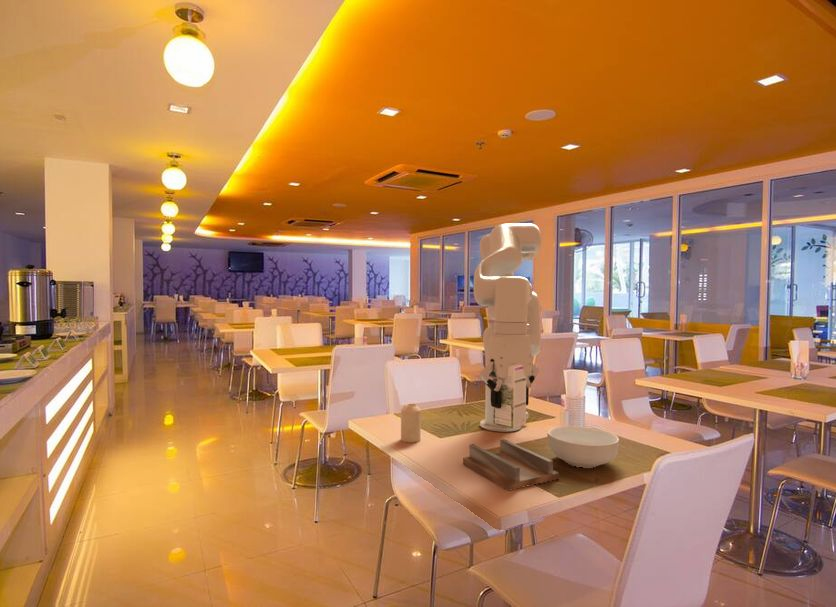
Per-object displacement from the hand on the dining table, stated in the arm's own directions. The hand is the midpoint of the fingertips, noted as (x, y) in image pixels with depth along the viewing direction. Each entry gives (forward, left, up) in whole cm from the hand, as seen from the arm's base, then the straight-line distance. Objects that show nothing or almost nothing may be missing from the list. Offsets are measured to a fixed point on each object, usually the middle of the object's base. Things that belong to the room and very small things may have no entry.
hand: (509, 405), depth 116 cm
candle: (+10, -32, -16) cm, 37 cm away
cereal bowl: (-20, +3, -16) cm, 26 cm away
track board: (0, 0, -16) cm, 16 cm away
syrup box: (0, 0, -5) cm, 5 cm away
